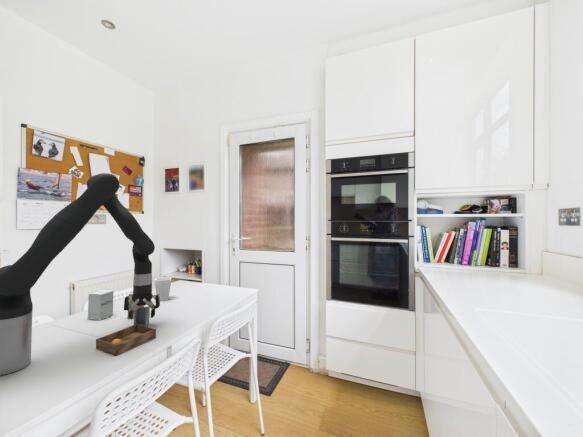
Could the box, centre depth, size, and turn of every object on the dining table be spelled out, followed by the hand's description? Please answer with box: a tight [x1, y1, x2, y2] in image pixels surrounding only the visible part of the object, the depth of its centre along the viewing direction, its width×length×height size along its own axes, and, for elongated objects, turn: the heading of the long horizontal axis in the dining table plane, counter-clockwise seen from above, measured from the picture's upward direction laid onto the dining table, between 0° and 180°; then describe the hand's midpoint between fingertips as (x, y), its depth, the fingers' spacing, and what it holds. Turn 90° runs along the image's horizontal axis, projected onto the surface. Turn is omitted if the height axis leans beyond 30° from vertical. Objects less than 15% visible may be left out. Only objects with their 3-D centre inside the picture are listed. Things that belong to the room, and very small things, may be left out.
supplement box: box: [87, 289, 114, 321], centre depth 125 cm, size 7×7×13 cm
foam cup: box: [154, 276, 172, 302], centre depth 154 cm, size 10×9×13 cm
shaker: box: [133, 306, 151, 327], centre depth 115 cm, size 5×5×8 cm
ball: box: [111, 339, 121, 345], centre depth 94 cm, size 3×3×3 cm
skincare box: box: [127, 291, 145, 320], centre depth 126 cm, size 6×4×12 cm
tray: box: [95, 324, 157, 357], centre depth 99 cm, size 16×12×4 cm
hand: (142, 318), depth 115 cm, fingers open, 8 cm apart
